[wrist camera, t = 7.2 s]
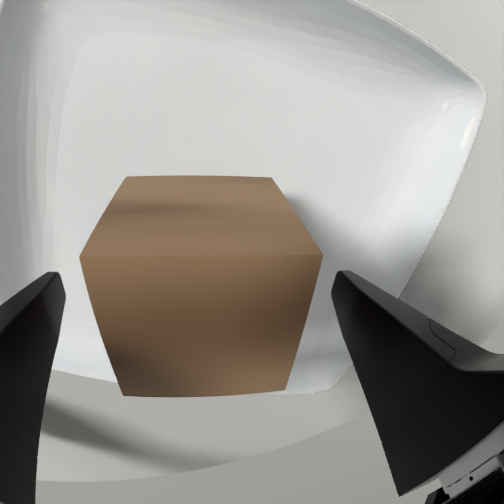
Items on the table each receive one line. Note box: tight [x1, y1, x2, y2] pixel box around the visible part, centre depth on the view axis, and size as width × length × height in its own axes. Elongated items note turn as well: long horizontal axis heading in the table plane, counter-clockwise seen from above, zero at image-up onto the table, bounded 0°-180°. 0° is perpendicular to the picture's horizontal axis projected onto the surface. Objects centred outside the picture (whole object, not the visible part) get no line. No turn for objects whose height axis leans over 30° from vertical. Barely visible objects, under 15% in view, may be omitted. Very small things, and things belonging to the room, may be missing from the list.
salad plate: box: [0, 0, 487, 395], centre depth 13 cm, size 21×21×3 cm
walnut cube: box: [79, 175, 323, 397], centre depth 9 cm, size 5×5×5 cm
